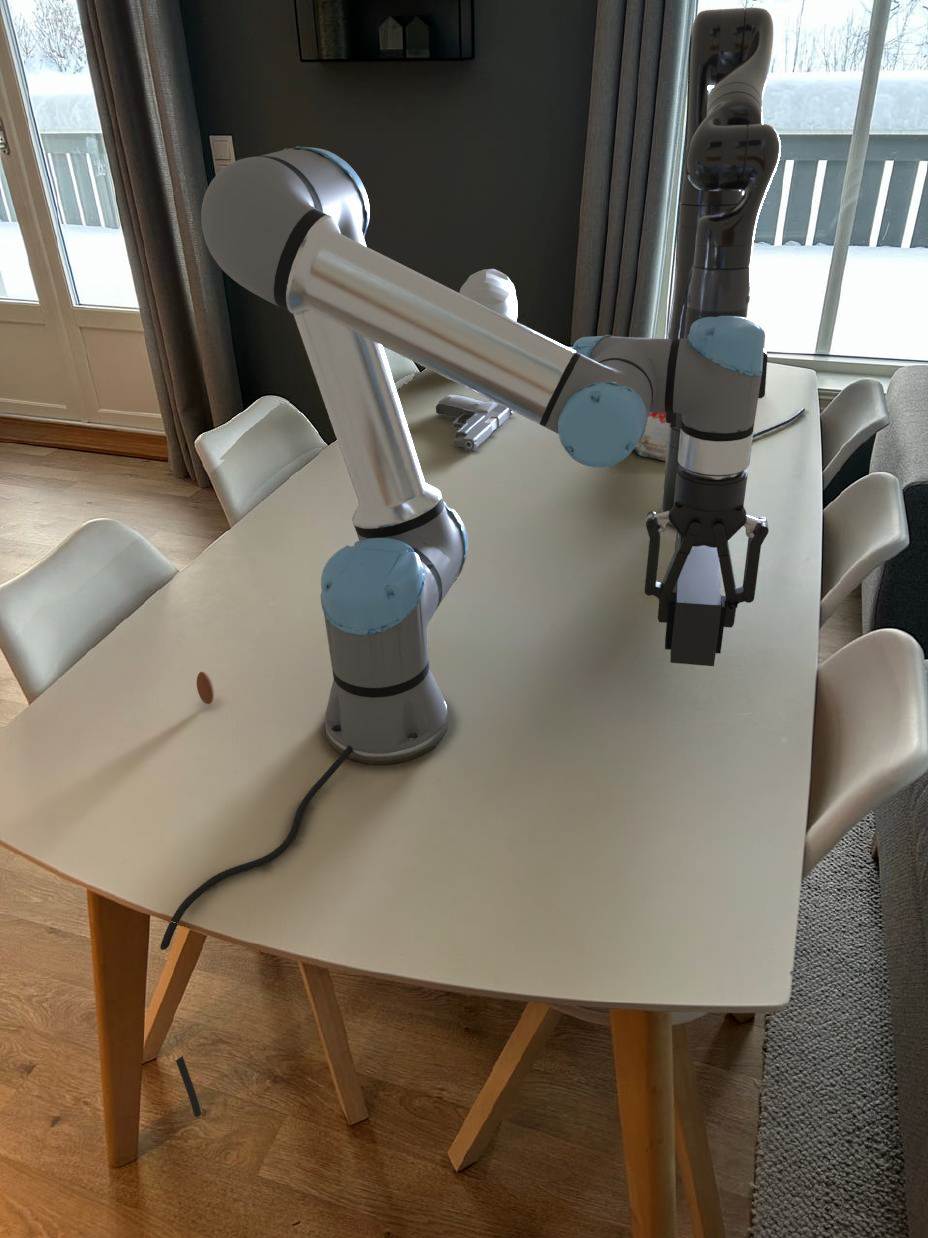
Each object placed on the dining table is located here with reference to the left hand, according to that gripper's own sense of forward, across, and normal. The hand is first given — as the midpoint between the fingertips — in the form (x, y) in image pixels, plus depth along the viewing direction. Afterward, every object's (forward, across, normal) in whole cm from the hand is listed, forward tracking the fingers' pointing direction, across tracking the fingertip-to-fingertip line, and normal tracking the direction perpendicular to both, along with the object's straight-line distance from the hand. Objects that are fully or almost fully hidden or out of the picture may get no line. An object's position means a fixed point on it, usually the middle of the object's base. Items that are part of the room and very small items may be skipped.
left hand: (692, 645), depth 111 cm
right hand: (-18, 0, -27) cm, 32 cm away
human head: (+9, +53, -145) cm, 154 cm away
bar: (+1, 0, -10) cm, 10 cm away
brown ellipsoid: (+9, +61, +10) cm, 63 cm away
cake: (+9, +2, -92) cm, 93 cm away
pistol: (+9, +50, -95) cm, 108 cm away
